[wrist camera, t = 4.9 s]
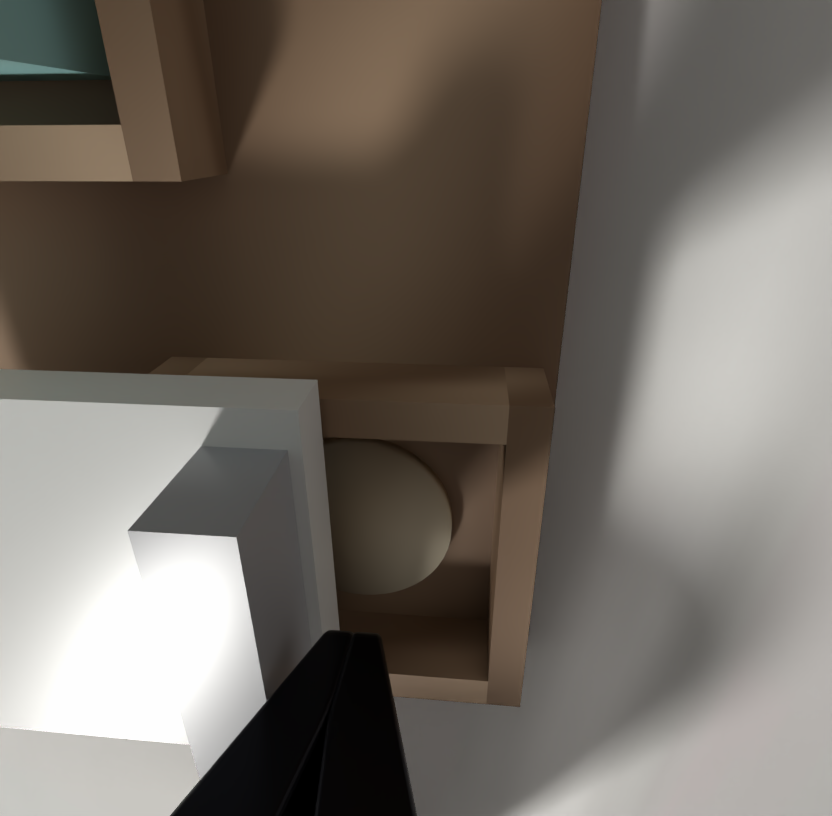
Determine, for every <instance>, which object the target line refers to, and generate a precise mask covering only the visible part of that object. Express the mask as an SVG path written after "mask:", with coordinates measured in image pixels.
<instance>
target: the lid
mask: <svg viewBox="0 0 832 816" xmlns="http://www.w3.org/2000/svg"><path fill="white" fill-rule="evenodd" d="M328 630H340V627H339V616H338V605H337V594H336V582H335V571H334V560H333V549H332V538H331V526H330V515H329V504H328V493H327V481H326V470H325V459H324V448H323V437H322V425H321V414H320V403H319V392H318V381H317V380H309V379H279V378H250V377H220V376H191V375H161V374H132V373H102V372H73V371H43V370H14V369H0V727H3V728H14V729H25V730H35V731H46V732H57V733H68V734H79V735H89V736H100V737H111V738H122V739H132V740H143V741H154V742H165V743H175V744H186V745H190V749H191V752H192V756H193V759H194V762H195V766H196V769H197V773H198V776H199V780H201V778H202V777H203V776H204V775H205V774H206V772H207V771H208V770H209V769H210V768H211V767H212V765H213V764H214V763H215V762H216V761H217V759H218V758H219V757H220V756H221V755H222V753H223V752H224V751H225V750H226V749H227V748H228V746H229V745H230V744H231V743H232V742H233V740H234V739H235V738H236V737H237V736H238V734H239V733H240V732H241V731H242V730H243V729H244V727H245V726H246V725H247V724H248V723H249V721H250V720H251V719H252V718H253V717H254V716H255V714H256V713H257V712H258V711H259V710H260V708H261V707H262V706H263V705H264V704H265V702H266V701H267V700H268V699H269V698H270V697H271V695H272V694H273V693H274V692H275V691H276V689H277V688H278V687H279V686H280V685H281V683H282V682H283V681H284V680H285V679H286V678H287V676H288V675H289V674H290V673H291V672H292V670H293V669H294V668H295V667H296V666H297V665H298V663H299V662H300V661H301V660H302V659H303V657H304V656H305V655H306V654H307V653H308V651H309V650H310V649H311V648H312V647H313V646H314V644H315V643H316V642H317V641H318V640H319V638H320V637H321V636H322V635H323V634H324V633H325V632H326V631H328Z"/></svg>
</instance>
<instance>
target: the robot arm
mask: <svg viewBox="0 0 832 816" xmlns="http://www.w3.org/2000/svg"><path fill="white" fill-rule="evenodd" d="M170 816H417V813H416V808H415V803H414V798H413V793H412V788H411V783H410V778H409V773H408V768H407V763H406V758H405V753H404V748H403V743H402V738H401V733H400V728H399V723H398V718H397V713H396V708H395V703H394V698H393V693H392V688H391V683H390V678H389V673H388V668H387V663H386V658H385V653H384V648H383V643H382V639H381V636H380V635H379V634H378V633H368V632H355V633H353V632H351V631H340V630H328V631H326V632H325V633H324V634H323V635H322V636H321V637H320V638H319V640H318V641H317V642H316V643H315V644H314V646H313V647H312V648H311V649H310V650H309V651H308V653H307V654H306V655H305V656H304V657H303V659H302V660H301V661H300V662H299V663H298V665H297V666H296V667H295V668H294V669H293V670H292V672H291V673H290V674H289V675H288V676H287V678H286V679H285V680H284V681H283V682H282V683H281V685H280V686H279V687H278V688H277V689H276V691H275V692H274V693H273V694H272V695H271V697H270V698H269V699H268V700H267V701H266V702H265V704H264V705H263V706H262V707H261V708H260V710H259V711H258V712H257V713H256V714H255V716H254V717H253V718H252V719H251V720H250V721H249V723H248V724H247V725H246V726H245V727H244V729H243V730H242V731H241V732H240V733H239V734H238V736H237V737H236V738H235V739H234V740H233V742H232V743H231V744H230V745H229V746H228V748H227V749H226V750H225V751H224V752H223V753H222V755H221V756H220V757H219V758H218V759H217V761H216V762H215V763H214V764H213V765H212V767H211V768H210V769H209V770H208V771H207V772H206V774H205V775H204V776H203V777H202V778H201V780H200V781H199V782H198V783H197V784H196V786H195V787H194V788H193V789H192V790H191V791H190V793H189V794H188V795H187V796H186V797H185V799H184V800H183V801H182V802H181V803H180V804H179V806H178V807H177V808H176V809H175V810H174V812H173V813H172V814H171V815H170Z"/></svg>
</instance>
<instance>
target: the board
mask: <svg viewBox="0 0 832 816" xmlns="http://www.w3.org/2000/svg"><path fill="white" fill-rule="evenodd" d="M601 3H602V0H95V5H96V9H97V14H98V19H99V24H100V28H101V33H102V38H103V42H104V47H105V52H106V57H107V61H108V66H109V71H110V76H111V80H57V81H0V369H14V370H43V371H73V372H102V373H132V374H161V375H191V376H220V377H250V378H279V379H309V380H317V381H318V392H319V403H320V414H321V425H322V437H323V448H324V459H325V470H326V481H327V493H328V504H329V515H330V526H331V538H332V549H333V560H334V571H335V582H336V594H337V605H338V616H339V627H340V631H351V632H353V633H355V632H368V633H378V634H379V635H380V636H381V639H382V643H383V648H384V653H385V658H386V663H387V668H388V673H389V678H390V683H391V688H392V693H393V696H394V697H406V698H418V699H431V700H443V701H455V702H467V703H479V704H491V705H503V706H515V707H520V702H521V693H522V685H523V676H524V668H525V659H526V651H527V642H528V634H529V625H530V617H531V608H532V600H533V591H534V583H535V574H536V566H537V557H538V549H539V540H540V532H541V523H542V515H543V506H544V498H545V489H546V481H547V472H548V464H549V455H550V447H551V438H552V430H553V421H554V413H555V397H556V388H557V380H558V371H559V362H560V354H561V345H562V337H563V328H564V320H565V311H566V303H567V294H568V286H569V277H570V268H571V260H572V251H573V243H574V234H575V226H576V217H577V209H578V200H579V191H580V183H581V174H582V166H583V157H584V149H585V140H586V132H587V123H588V114H589V106H590V97H591V89H592V80H593V72H594V63H595V55H596V46H597V37H598V29H599V20H600V12H601Z"/></svg>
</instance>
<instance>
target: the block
mask: <svg viewBox="0 0 832 816" xmlns="http://www.w3.org/2000/svg"><path fill="white" fill-rule="evenodd" d="M57 80H111V76H110V71H109V66H108V61H107V57H106V52H105V47H104V42H103V38H102V33H101V28H100V24H99V19H98V14H97V9H96V5H95V0H0V81H57Z"/></svg>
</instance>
